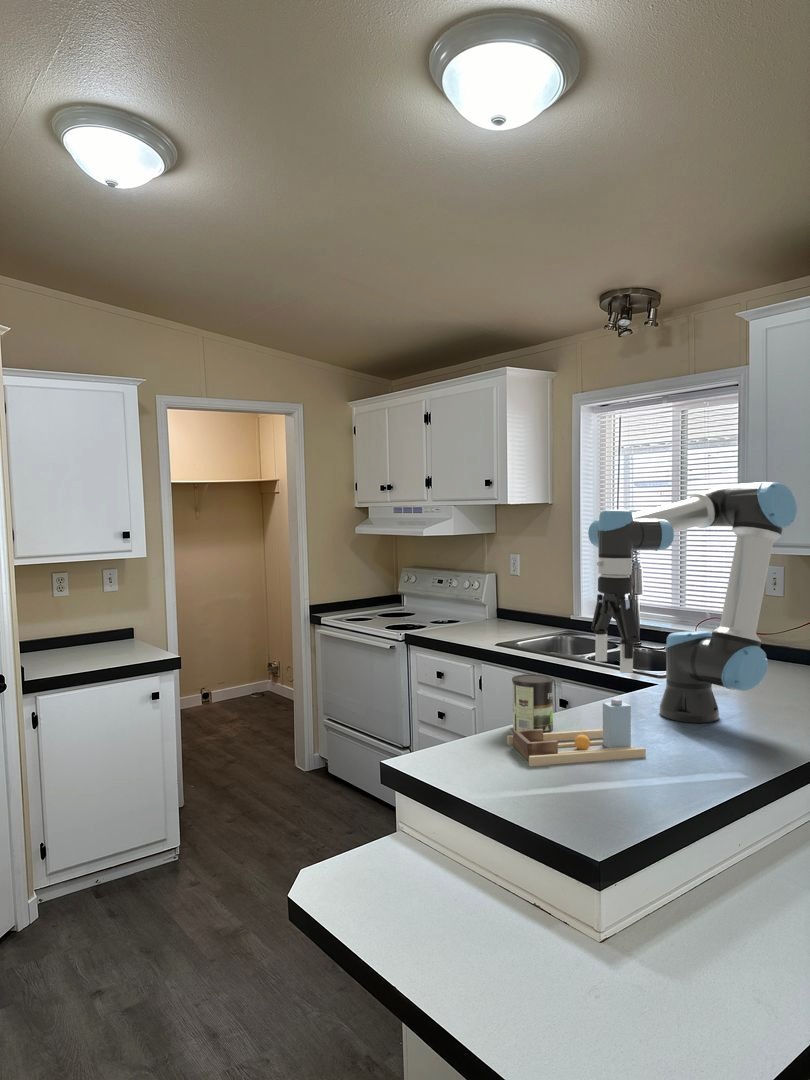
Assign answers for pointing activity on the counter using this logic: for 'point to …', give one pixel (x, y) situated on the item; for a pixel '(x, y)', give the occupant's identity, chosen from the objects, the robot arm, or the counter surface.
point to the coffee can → (533, 702)
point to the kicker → (616, 724)
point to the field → (579, 754)
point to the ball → (582, 742)
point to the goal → (533, 743)
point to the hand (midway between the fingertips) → (613, 666)
